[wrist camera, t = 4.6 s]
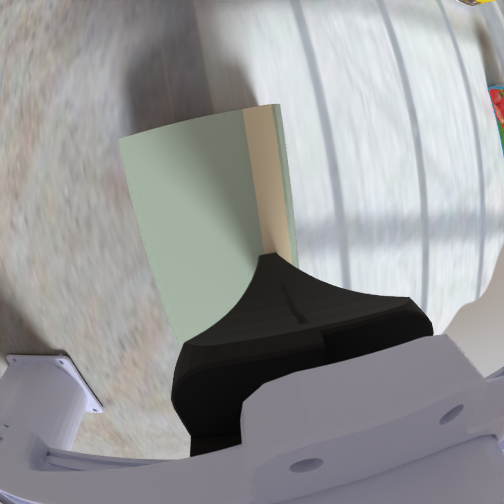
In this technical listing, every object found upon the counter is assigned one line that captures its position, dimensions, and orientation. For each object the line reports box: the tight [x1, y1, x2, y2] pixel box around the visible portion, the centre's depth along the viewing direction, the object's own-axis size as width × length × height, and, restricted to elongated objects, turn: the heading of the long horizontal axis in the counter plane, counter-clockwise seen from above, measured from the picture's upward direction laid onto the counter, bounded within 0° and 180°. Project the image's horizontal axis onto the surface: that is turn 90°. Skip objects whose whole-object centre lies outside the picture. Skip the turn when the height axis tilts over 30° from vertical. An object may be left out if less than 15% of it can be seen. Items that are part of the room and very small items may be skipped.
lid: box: [118, 104, 299, 352], centre depth 13 cm, size 7×12×1 cm, turn 8°
